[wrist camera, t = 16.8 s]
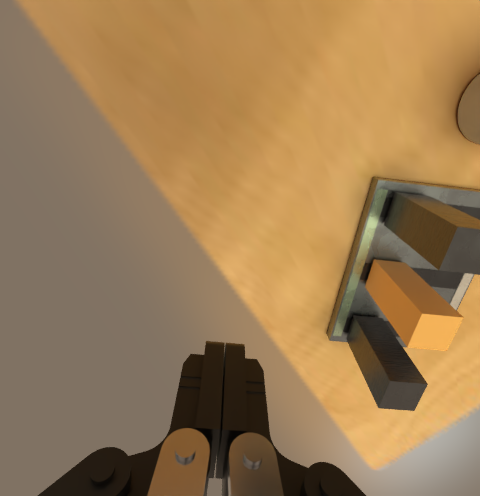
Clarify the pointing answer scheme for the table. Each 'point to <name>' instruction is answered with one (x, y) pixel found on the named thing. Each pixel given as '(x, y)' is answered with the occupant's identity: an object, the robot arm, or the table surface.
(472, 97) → the travel mug
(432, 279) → the panel
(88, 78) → the table surface
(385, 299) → the handle
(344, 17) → the table surface
